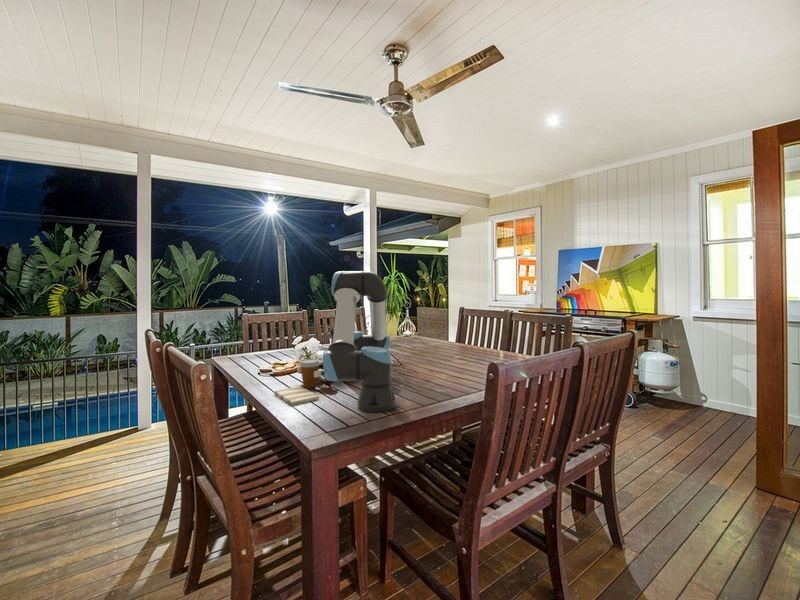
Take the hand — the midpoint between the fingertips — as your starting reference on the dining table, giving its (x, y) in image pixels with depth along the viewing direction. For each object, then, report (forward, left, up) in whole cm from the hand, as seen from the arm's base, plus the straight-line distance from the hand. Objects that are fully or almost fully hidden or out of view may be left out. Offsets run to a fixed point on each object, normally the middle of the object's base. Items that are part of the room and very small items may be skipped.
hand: (306, 372), depth 179 cm
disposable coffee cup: (0, -2, -7) cm, 7 cm away
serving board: (-12, +10, -7) cm, 17 cm away
